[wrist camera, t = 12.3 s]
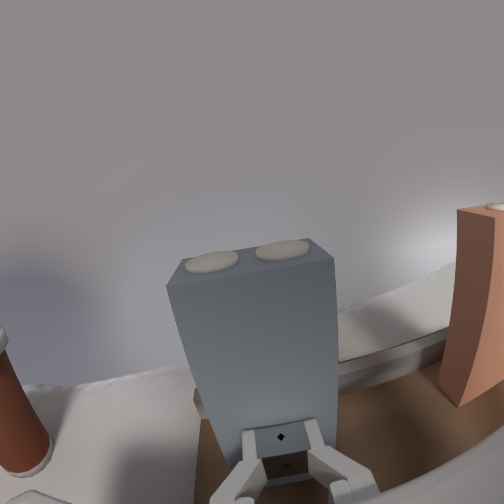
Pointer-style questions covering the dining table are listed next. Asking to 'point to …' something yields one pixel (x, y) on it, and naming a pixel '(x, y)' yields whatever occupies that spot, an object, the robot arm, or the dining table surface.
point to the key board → (379, 423)
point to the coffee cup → (19, 425)
